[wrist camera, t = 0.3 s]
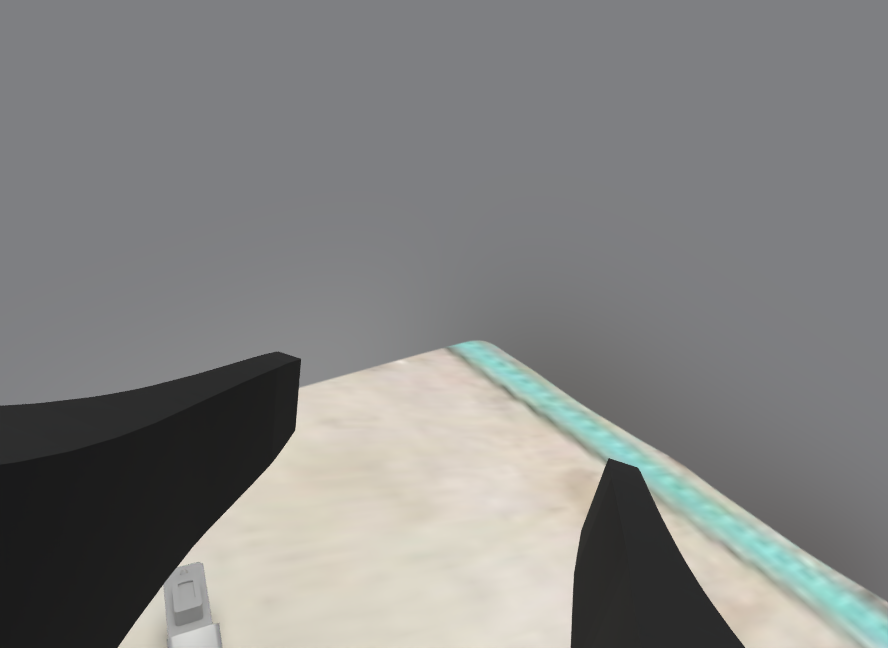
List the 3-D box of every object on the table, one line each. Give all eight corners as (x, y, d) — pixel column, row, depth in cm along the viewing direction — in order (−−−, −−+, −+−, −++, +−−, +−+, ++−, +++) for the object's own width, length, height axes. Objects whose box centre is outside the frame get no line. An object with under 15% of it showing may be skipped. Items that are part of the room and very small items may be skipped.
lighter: (168, 628, 28) (156, 514, 24) (205, 616, 29) (199, 504, 25) (182, 785, 23) (169, 670, 19) (227, 766, 24) (224, 652, 20)
